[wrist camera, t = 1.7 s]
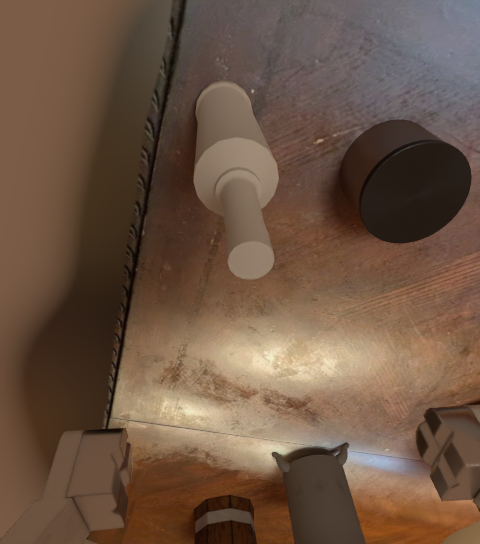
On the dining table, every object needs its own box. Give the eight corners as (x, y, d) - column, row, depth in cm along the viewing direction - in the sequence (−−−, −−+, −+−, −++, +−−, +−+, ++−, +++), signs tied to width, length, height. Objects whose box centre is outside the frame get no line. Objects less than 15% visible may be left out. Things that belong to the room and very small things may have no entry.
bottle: (187, 123, 38) (175, 289, 18) (206, 68, 35) (216, 189, 15) (237, 143, 39) (278, 316, 19) (259, 91, 36) (332, 230, 16)
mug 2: (255, 471, 79) (273, 638, 59) (290, 431, 71) (326, 608, 51) (333, 482, 85) (374, 639, 65) (374, 447, 77) (434, 611, 57)
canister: (325, 151, 40) (345, 179, 35) (422, 98, 38) (461, 118, 32) (356, 225, 46) (378, 259, 40) (443, 183, 44) (479, 213, 38)
